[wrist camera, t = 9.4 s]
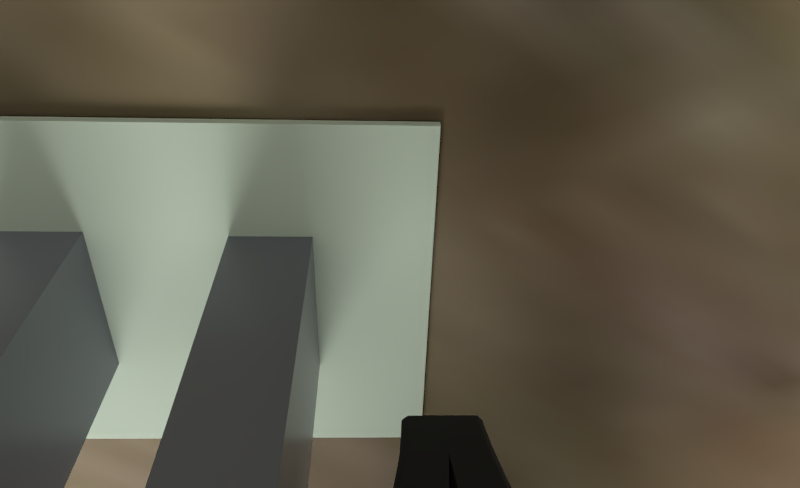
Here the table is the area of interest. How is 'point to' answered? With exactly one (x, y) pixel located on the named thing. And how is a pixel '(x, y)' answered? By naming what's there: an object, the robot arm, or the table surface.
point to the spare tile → (49, 355)
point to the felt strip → (240, 216)
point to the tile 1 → (248, 374)
